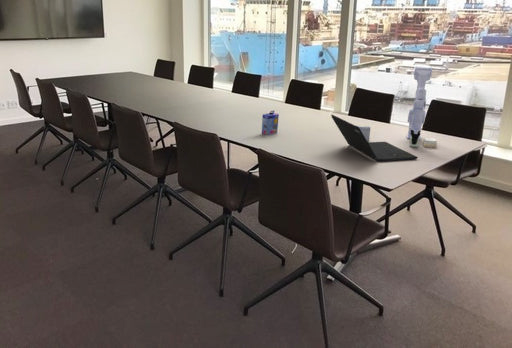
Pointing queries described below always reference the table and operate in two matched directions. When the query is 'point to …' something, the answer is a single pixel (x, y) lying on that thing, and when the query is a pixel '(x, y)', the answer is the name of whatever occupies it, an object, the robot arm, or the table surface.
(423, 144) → the bottom slab
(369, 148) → the laptop
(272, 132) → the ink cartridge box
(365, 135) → the medicine box
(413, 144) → the cube
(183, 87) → the table surface
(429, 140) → the top slab
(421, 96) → the robot arm
